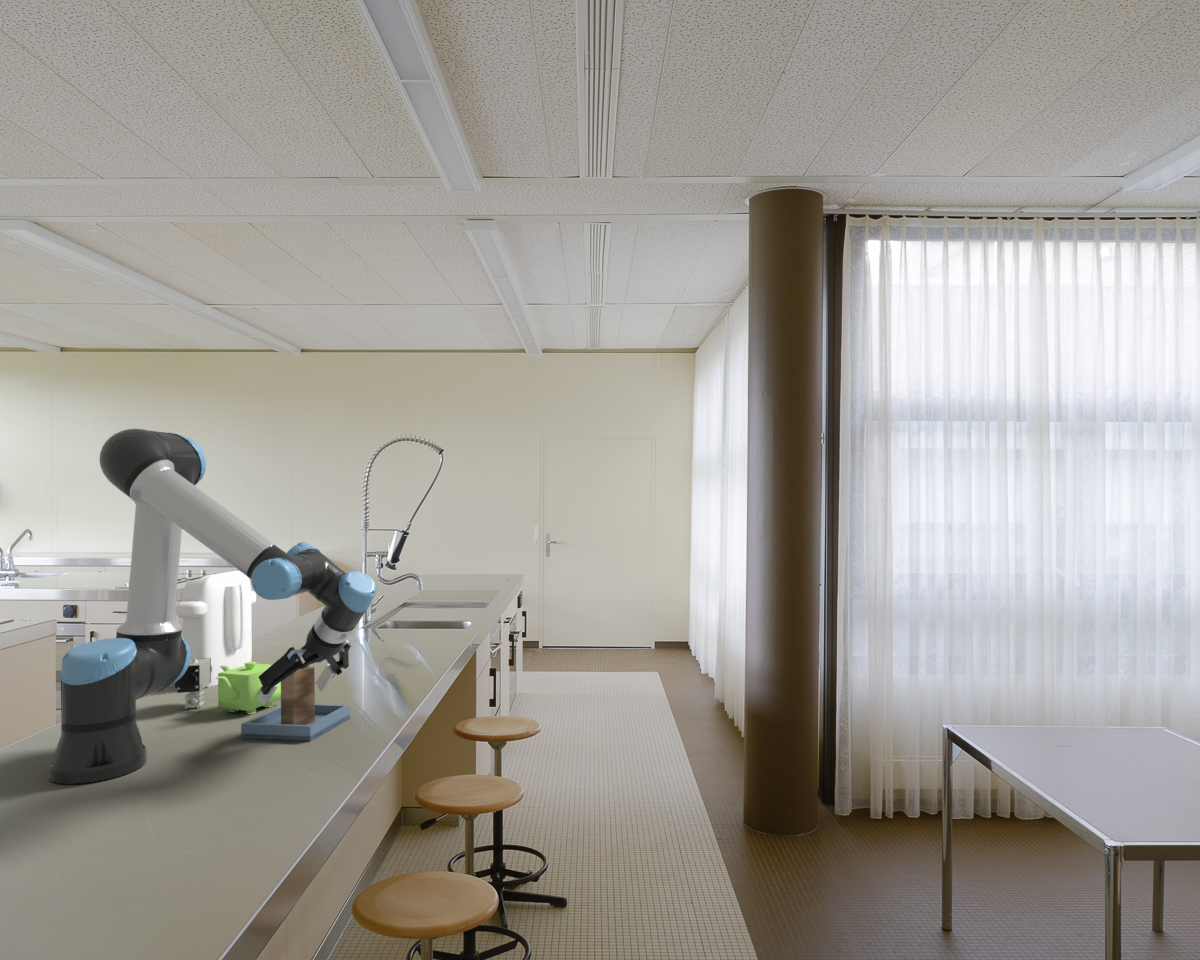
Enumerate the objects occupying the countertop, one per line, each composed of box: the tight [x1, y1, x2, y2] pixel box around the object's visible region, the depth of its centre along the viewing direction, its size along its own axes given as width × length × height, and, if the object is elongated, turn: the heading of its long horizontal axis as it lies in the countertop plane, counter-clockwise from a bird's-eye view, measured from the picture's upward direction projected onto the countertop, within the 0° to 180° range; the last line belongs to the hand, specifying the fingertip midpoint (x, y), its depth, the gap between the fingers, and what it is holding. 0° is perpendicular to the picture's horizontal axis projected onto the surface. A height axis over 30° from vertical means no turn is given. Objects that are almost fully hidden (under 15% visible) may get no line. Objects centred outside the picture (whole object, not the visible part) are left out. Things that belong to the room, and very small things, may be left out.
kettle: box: [216, 661, 281, 714], centre depth 177 cm, size 15×14×11 cm
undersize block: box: [280, 656, 316, 725], centre depth 162 cm, size 5×5×14 cm
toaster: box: [175, 570, 257, 689], centre depth 208 cm, size 27×11×30 cm, turn 171°
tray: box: [240, 703, 351, 742], centre depth 162 cm, size 16×16×3 cm
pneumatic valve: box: [174, 657, 212, 710], centre depth 180 cm, size 6×12×12 cm, turn 11°
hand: (291, 693), depth 163 cm, fingers open, 13 cm apart
